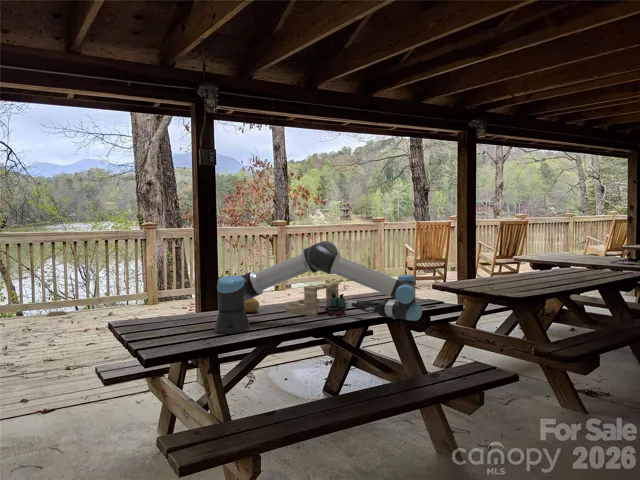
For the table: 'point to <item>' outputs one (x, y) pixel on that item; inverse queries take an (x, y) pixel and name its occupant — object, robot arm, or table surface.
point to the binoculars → (336, 305)
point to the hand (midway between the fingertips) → (348, 303)
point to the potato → (251, 305)
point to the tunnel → (312, 299)
